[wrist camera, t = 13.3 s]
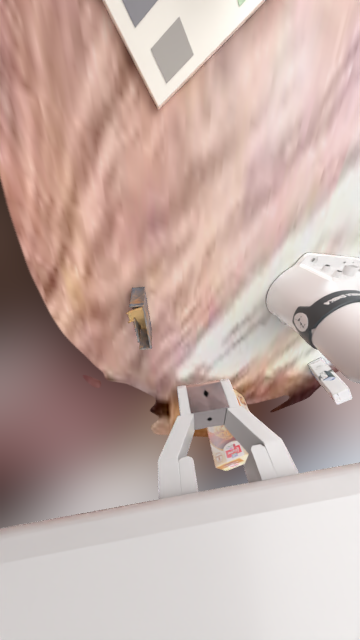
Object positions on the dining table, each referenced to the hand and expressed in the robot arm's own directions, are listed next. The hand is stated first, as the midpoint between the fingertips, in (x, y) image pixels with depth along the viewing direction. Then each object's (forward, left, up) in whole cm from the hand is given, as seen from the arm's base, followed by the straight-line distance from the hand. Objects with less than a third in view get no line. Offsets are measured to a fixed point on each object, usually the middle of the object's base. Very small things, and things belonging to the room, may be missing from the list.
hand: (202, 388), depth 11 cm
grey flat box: (+7, +14, -32) cm, 35 cm away
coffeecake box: (-15, +59, -31) cm, 68 cm away
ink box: (-48, +46, -31) cm, 73 cm away
